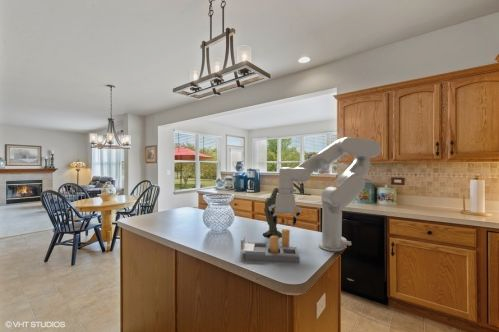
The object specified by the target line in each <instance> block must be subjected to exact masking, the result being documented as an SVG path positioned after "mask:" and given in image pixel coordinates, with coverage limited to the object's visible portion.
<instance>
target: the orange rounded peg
mask: <svg viewBox="0 0 499 332" xmlns="http://www.w3.org/2000/svg"><path fill="white" fill-rule="evenodd" d="M290 232H291V231H290V229H289V228H283V229H281V233H282V236H281V246H283V247H290V235H291V234H290Z"/></svg>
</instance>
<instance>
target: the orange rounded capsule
mask: <svg viewBox="0 0 499 332" xmlns="http://www.w3.org/2000/svg"><path fill="white" fill-rule="evenodd" d="M279 238H280V237H278V236H270V237H269V246H270V253H278V246H280V245H279Z"/></svg>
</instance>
